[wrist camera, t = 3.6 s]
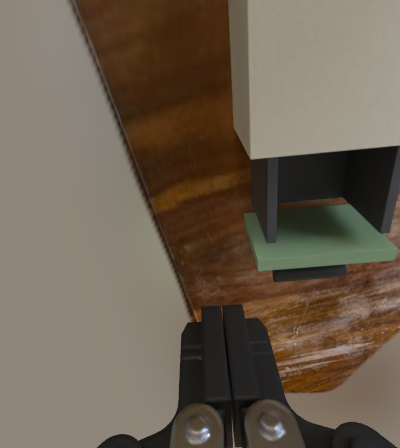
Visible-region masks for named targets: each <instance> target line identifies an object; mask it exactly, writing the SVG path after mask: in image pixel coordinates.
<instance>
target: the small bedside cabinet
mask: <svg viewBox="0 0 400 448" xmlns="http://www.w3.org/2000/svg"><path fill="white" fill-rule="evenodd" d="M228 7H229V30H230V54H231V77H232V101H233V125H234V129H235V131H236V133H237V135H238V137H239V138H240V140H241V142H242V144H243V146H244V148H245V150H246V152H247V154H248V156H249V158H250V159H251V160H252V159H263V158H273V157H284V156H294V155H305V154H315V153H326V152H337V151H347V150H358V149H368V148H379V147H389V146H400V0H228Z"/></svg>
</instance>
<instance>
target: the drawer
mask: <svg viewBox="0 0 400 448" xmlns="http://www.w3.org/2000/svg"><path fill="white" fill-rule="evenodd" d="M250 160H251V159H250ZM399 188H400V146H389V147H379V148H368V149H358V150H347V151H337V152H326V153H315V154H305V155H294V156H284V157H273V158H263V159H252V160H251V202H252V205H253V208H254V210H255V212H253V213H244V225H245V228H246V232H247V235H248V239H249V242H250V246H251V249H252V253H253V257H254V260H255V264H256V267H257V271H269V270H272V272H273V279H274V281H275V282H282V281H295V280H307V279H320V278H332V277H344V276H346V273H347V269H346V265H345V264H355V263H367V262H379V261H392V260H395V258H396V254H397V250H398V248H397V247H396V246H395V245H394V244H392V243H391V242H390V241H389V240H388V239H387V238H386V237H385V236H384V235H383V234H382V233H389V232H390V228H391V224H392V219H393V215H394V210H395V206H396V201H397V197H398V192H399ZM338 197H343V198H344V199H345V200H346V201H347V202H348V203H349V204H344V205H332V206H321V207H310V208H299V209H287V210H277V203H282V202H293V201H304V200H315V199H326V198H338Z"/></svg>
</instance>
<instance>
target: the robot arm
mask: <svg viewBox="0 0 400 448" xmlns="http://www.w3.org/2000/svg"><path fill="white" fill-rule="evenodd" d="M222 312H223V321H222ZM222 312H221V306H208V307H201V316H202V322H190V323H187V325H186V327H185V329H184V331H183V332H182V334H181V335H182V336H181V356H180V359H181V361H180V379H179V401H178V408H177V412H176V414H175V416H174V418H173V419H172V421H171V422H170V423H169V424H168V425H167V426H166V427H165V428H164V429H162V430H161V431H159V432H157V433H156V434H153V435H151V436H148V437H146V438H144V439H141V440H139V441H137V439H135V438H134V437H132V436H130V435H126V434H119V435H115V436H112V437H110V438H108V439H106V440H105V441H104V442H102V443H101V445H99V446H98V447H97V448H233V438H232V422H233V432H234V441H235V447H242V448H397V447H395V446H394V445H393V444H392V443H390V442H389V441H388V440H387V439H385V438H384V437H382V436H381V435H380V434H379V433H378V432H376V431H375V430H373V429H372V428H370V427H368V426H366V425H364V424H361V423H357V422H347V423H343V424H341V425H340V426H339V427H337V428H336V430H335V429H331V428H328V427H323V426H320V425H317V424H313V423H311V422H308V421H306V420H304V419H303V418H301V417H300V416H298V415H297V414H296V413H295V412H294V411H293V410H292V409H291V407H290V406H289V404H288V403H287V401H286V398H285V395H284V391H283V387H282V384H281V380H280V376H279V372H278V369H277V365H276V361H275V357H274V355H273V350H272V346H271V344H270V339H269V335H268V331H267V328H266V327H265V326H264V325H263V324H262V322H261V321H260V320H259V319H258V318H250V319H245V316H244V311H243V306H242V304H237V305H222Z"/></svg>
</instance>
